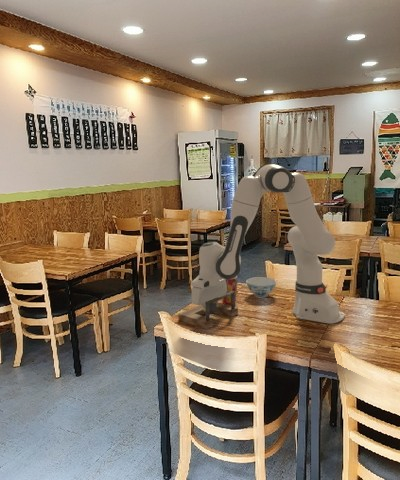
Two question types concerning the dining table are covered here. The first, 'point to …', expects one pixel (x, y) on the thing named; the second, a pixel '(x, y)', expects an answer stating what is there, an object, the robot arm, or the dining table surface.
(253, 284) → the chinaware
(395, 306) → the dining table surface
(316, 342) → the dining table surface
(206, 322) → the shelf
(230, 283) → the smoothie
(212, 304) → the dark grey block
